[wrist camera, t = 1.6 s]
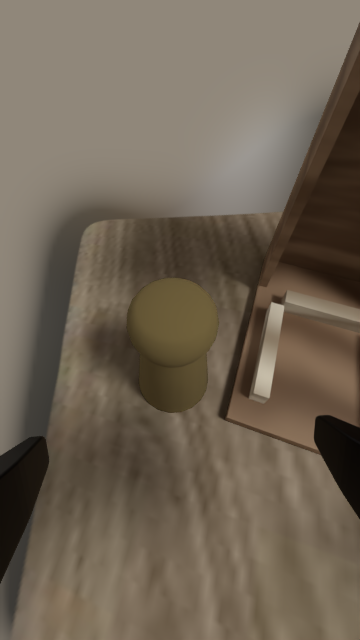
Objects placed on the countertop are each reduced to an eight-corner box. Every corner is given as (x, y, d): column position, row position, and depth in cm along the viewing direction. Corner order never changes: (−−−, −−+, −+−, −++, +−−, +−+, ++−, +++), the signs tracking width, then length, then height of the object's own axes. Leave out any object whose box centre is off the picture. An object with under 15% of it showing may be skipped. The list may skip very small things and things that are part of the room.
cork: (125, 395, 22) (89, 329, 12) (157, 337, 25) (146, 249, 15) (192, 425, 21) (208, 377, 11) (217, 360, 24) (245, 280, 14)
